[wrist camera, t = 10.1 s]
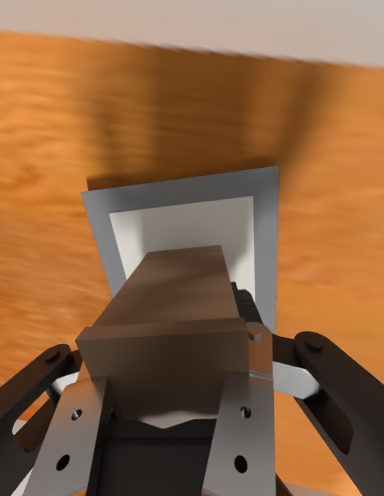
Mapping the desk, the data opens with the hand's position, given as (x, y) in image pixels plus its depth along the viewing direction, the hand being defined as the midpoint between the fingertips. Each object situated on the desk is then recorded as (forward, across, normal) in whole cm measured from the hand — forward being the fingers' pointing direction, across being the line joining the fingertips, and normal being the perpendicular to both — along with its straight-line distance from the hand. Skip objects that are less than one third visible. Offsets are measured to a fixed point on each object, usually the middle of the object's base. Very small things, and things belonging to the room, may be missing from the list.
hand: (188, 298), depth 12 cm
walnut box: (+1, 0, 0) cm, 1 cm away
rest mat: (+3, 0, 0) cm, 3 cm away
